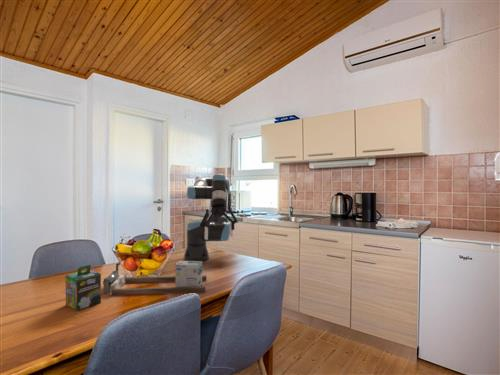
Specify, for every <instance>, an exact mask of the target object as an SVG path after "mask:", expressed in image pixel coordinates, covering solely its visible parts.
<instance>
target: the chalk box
mask: <svg viewBox="0 0 500 375" xmlns="http://www.w3.org/2000/svg"><path fill="white" fill-rule="evenodd" d="M91 268H92V266H91V264H88V265H83V266H80V267H78V268H77V271H76V272H74V273H70V274H67V275H66V274H65V276H64V278H65V281H64V282H65V305H66V306H67V307H69V308H70V309H73V310H75V311H77V312H78V311H80V310H83V309H87V308H89V307H92V306H95V305H99V304H101V303H102V296H101V295H102V293H101V292H102V278H101V277H102V276H101V275H102V273H100V272H97V271H95V270H92V269H91Z"/></svg>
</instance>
